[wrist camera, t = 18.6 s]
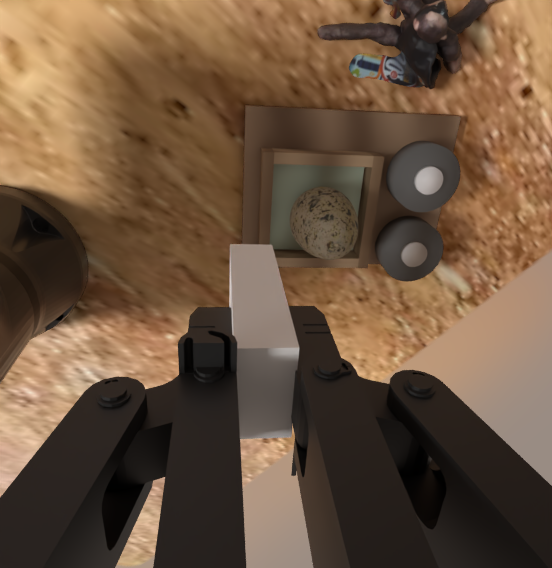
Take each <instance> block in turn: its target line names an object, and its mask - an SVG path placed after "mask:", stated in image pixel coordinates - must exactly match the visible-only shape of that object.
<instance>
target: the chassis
mask: <svg viewBox="0 0 552 568" xmlns="http://www.w3.org/2000/svg"><path fill="white" fill-rule="evenodd" d="M460 118H461V117H460V116H456V115H440V114H420V113H400V112H380V111H360V110H340V109H320V108H300V107H279V106H259V105H245V133H244V174H243V215H242V244H263V245H272V246H273V250H274V253H275V257H276V261H277V265H278V267H304V268H367V267H368V264H381V265H382V266H383V268H384V269H385V270H386V272H387V273H388V274H389V275H390V276H391V277H393V278H395V279H397V280H400V281H414V280H418V279H420V278H423V277H425V276H426V275H428V274H429V273H430V272H432V271H433V270H434V268H435V267H436V266H437V265H438V263H439V261H440V259H441V257H442V254H443V241H442V238H441V235H440V234H439V232H438V231H437V230H436V229H437V225H438V220H439V215H440V211H441V207H439V208H437V209H435V210H432V211H429V212H415V211H411V210H409V209H407V208H405V207H404V206H403V205H402V204H401V203H399V202H398V201H397V200H396V199H394V197H393V196H392V195H391V194H390V192H389V190H388V187H387V182H386V174H387V169H388V166H389V164H390V162H391V160H392V158H393V157H394V155H395V154H396V153H397V152H398V151H399V150H400V149H401V148H403V147H404V146H406V145H407V144H410V143H412V142H415V141H430V142H433V143H435V144H438V145H440V146H443V147H445V148H447V149H449V150H450V151H451V152H452V153H453V151H454V146H455V142H456V137H457V132H458V128H459V123H460ZM315 187H330V188H333V189H336V190H338V191H340V192H341V193H343V194H344V195H345V196H346V197H347V198H348V199H349V200H350V202H351V203H352V205H353V207H354V209H355V211H356V214H357V218H358V236H357V240H356V242H355V244H354V246H353V248H352V249H351V250H350V252H349V253H347V254H346V255H345V256H343V257H341V258H339V259H334V260H325V259H320V258H318V257H315V256H313V255H311V254H309V253H308V252H306V251H305V250H304V249H303V248H302V247H301V246H300V245H299V244H298V243H297V241H296V240H295V238H294V236H293V234H292V231H291V227H290V213H291V209H292V207H293V204H294V203H295V201H296V200H297V198H298V197H299V196H300V195H301V194H303V193H304V192H305V191H307V190H309V189H312V188H315Z"/></svg>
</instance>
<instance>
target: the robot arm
mask: <svg viewBox="0 0 552 568" xmlns="http://www.w3.org/2000/svg"><path fill="white" fill-rule="evenodd" d="M87 278H88V261H87V256H86V252H85V249H84V246H83V244H82V242H81V240H80V238H79V236H78V234H77V233H76V231H75V229H74V228H73V227H72V225H71V224H70V223H69V222H68V221H67V219H66V218H65V217H64V216H63V215H62V214H61V213H59V212H58V211H57V210H56V209H55V208H53V207H52V206H51V205H49V204H48V203H46V202H45V201H43V200H41V199H39V198H38V197H36V196H34V195H32V194H29V193H27V192H24V191H21V190H18V189H14V188H10V187H5V186H0V383H1V382H2V380H3V379H4V377H5V376H6V375H7V373H8V372H9V370H10V369H11V367H12V366H13V364H14V363H15V361H16V360H17V358H18V357H19V355H20V354H21V352H22V351H23V349H24V348H25V346H26V345H27V343H28V342H29V340H30V339H32V338H34V337H36V336H38V335H40V334H42V333H44V332H45V331H47V330H49V329H51V328H53V327H54V326H56V325H58V324H59V323H60V322H62V321H63V320H64V319H65V318H66V317H67V316H68V315H69V314H70V313H71V312H72V310H73V309H74V307H75V306H76V304H77V302H78V301H79V299H80V297H81V296H82V294H83V292H84V289H85V287H86V283H87ZM178 356H179V375H178V376H177V377H176V378H175V379H173V380H172V381H170V382H168V383H166V384H164V385H160V386H157V387H153V388H149V389H145V387H144V385H143V384H142V383H140V382H139V381H138V380H136V379H132V378H129V377H113V378H109V379H104V380H102V381H100V382H97V383H95V384H93V385H92V386H91V387H90V388H88V389H87V390H86V391H85V392H84V393H83V395H82V396H81V397H80V398H79V400H78V401H77V402H76V403H75V405H74V406H73V407H72V408H71V410H70V411H69V412H68V413H67V415H66V416H65V417H64V418H63V420H62V421H61V422H60V423H59V425H58V426H57V427H56V428H55V430H54V431H53V432H52V433H51V435H50V436H49V437H48V438H47V440H46V441H45V442H44V443H43V445H42V446H41V447H40V448H39V450H38V451H37V452H36V454H35V455H34V456H33V457H32V459H31V460H30V461H29V462H28V464H27V465H26V466H25V467H24V469H23V470H22V471H21V472H20V474H19V475H18V476H17V477H16V479H15V480H14V481H13V482H12V484H11V485H10V486H9V487H8V489H7V490H6V491H5V492H4V494H3V495H2V496H1V497H0V568H115V567H116V564H117V562H118V560H119V558H120V556H121V554H122V551H123V549H124V547H125V545H126V543H127V540H128V538H129V536H130V534H131V532H132V529H133V527H134V525H135V523H136V521H137V519H138V516H139V514H140V512H141V510H142V508H143V505H144V503H145V501H146V499H147V497H148V494H149V492H150V490H151V488H152V483H153V480H156V479H160V478H163V477H165V484H164V492H163V499H162V507H161V514H160V522H159V529H158V537H157V544H156V552H155V560H154V567H153V568H246V553H245V534H244V512H243V491H242V471H241V450H240V439H254V438H283V437H291V434H292V423H293V428H294V433H295V443H294V453H293V463H292V476H295V475H296V470H297V475H298V481H299V486H300V492H301V498H302V504H303V509H304V515H305V521H306V527H307V532H308V538H309V543H310V549H311V555H312V561H313V567H314V568H552V486H551V485H550V484H549V483H548V482H547V481H546V480H545V479H544V478H543V477H542V476H541V475H540V474H538V473H537V472H536V471H535V470H534V469H533V468H532V467H531V466H530V465H529V464H528V463H527V462H526V461H525V460H524V459H523V458H521V456H520V455H518V454H517V453H516V452H515V451H514V450H513V449H512V448H511V447H510V446H509V445H508V444H507V443H506V442H505V441H504V440H503V439H502V438H501V437H499V436H498V435H497V434H496V433H495V432H494V431H493V430H492V429H491V428H490V427H489V426H488V425H487V424H486V423H485V422H484V421H483V420H482V419H481V418H480V417H478V416H477V415H476V414H475V413H474V412H473V411H472V410H471V409H470V408H469V407H468V406H467V405H466V404H465V403H464V402H463V401H462V400H461V399H460V398H458V397H457V396H456V395H455V394H454V393H453V392H452V391H451V390H450V389H449V388H448V387H447V386H446V385H445V384H443V382H441V381H440V380H439V379H437V378H436V377H434V376H432V375H430V374H427V373H425V372H421V371H415V370H403V371H400V372H397V373H395V374H394V375H393V376H392V377H391V379H390V384H386V383H381V382H376V381H371V380H368V379H364V378H362V377H359V376H358V374H357V372H356V370H355V369H354V367H353V366H352V364H351V363H349V362H347V361H346V360H344V359H342V358H341V357H340V354H339V351H338V349H337V346H336V344H335V341H334V339H333V336H332V334H331V331H330V329H329V326H328V324H327V321H326V318H325V316H324V314H323V313H322V312H320V311H319V310H318V309H317V308H316V307H315V306H288V303H287V299H286V295H285V291H284V288H283V284H282V280H281V276H280V272H279V269H278V265H277V261H276V257H275V253H274V250H273V246H272V245H263V244H230V289H229V307H198V308H197V309H196V310H195V311H194V312H193V313H192V314H191V316H190V320H189V328H188V333H186V334H185V335H183V336H182V337H181V338H180V340H179V342H178Z"/></svg>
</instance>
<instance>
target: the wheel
mask: <svg viewBox="0 0 552 568" xmlns="http://www.w3.org/2000/svg"><path fill="white" fill-rule="evenodd" d="M459 179H460V166H459V163H458V160H457V158H456V156H455V155H454V154H453V153H452V152H451V151H450V150H449V149H447V148H445V147H443V146H440V145H438V144H435V143H433V142H430V141H415V142H412V143H410V144H407V145H406V146H404V147H403V148H401V149H400V150H399V151H398V152H397V153H396V154H395V155H394V157H393V158H392V160H391V162H390V164H389V166H388V169H387V174H386V182H387V187H388V190H389V192H390V194H391V195H392V196H393V197H394V199H396V200H397V201H398V202H399V203H401V204H402V205H403V206H404V207H405V208H407V209H409V210H411V211H415V212H429V211H432V210H435V209H437V208H439V207H441V206H442V205H444V204H445V203H446V202H447V201H448V200H449V199H450V198H451V197H452V195H453V194H454V192H455V191H456V189H457V186H458V183H459Z"/></svg>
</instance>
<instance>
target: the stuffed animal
mask: <svg viewBox="0 0 552 568" xmlns="http://www.w3.org/2000/svg"><path fill="white" fill-rule="evenodd" d="M383 1H384V3H385V4H388V5H392V6H393V10H392V11H391V12H390V15H391V16H392V17H393V18H394V19H397V18H398V17H399V16H400V15H401V12H400V10H401V11H402V13H403V15H404V17H405V20H403V21H402V22H401V25H400V27H399V26H397V25H390V24H384V23H382V22H380V23H377V24H374V23H365V24H355V23H341V24H334V25H325V26H321V27H320V28H319V29H318V36H319V37H320V38H321V39H325V40H334V39H348V40H352V39H363V38H368V39H371V40H373V41H376V42H378V43H379V44H382V45H385V46H395V47H396V48H397V49H399V50H400V51H401V53H400V54H399V55H398V56H396V57H388V56H385V55H372V54H358V55H356V56H355V57H354V58H353V59H352V61H351V62H350V66H349V70H350V72H351V73H352V75H353V76H355V77H359V78H372V79H379V80H384V81H387V82H391V83H395V84H399V85H403V86H409V87H422V86H425V87H426V88H427V87H428V88H429V89H433V88H434V86H435V80H436V79H437V77H438V73H439V71H440V70H441V63H440V60H439V59H437V58H436V54H437V53H438V54H439V55H440V57H441V58H442V59H443V64H444V66H445V68H446V69H447V70H448V71H450V72H451V73H452V74H454V73H456V72H457V71H458V70H459V69H460V63H461V58H462V53H461V47H460V44H459V42H458V35H457V34H459V33H461V32H463V30H464V29H465V28H467V27H469V26H470V25H471V24H472V23H473V22H474V21H475V20H476V19H477V18H478V17H479V16H480V15H481V14H482V13H483V12H485V11H486V10H487V8H488V5H489V4H491V3H493V2H495V1H497V0H470V2H469V3H468V4H467V5H466V6H465V7H464V9H463V10H461V11H460V12H459V13H457V14H456V15H454V16H452V17H450V18H449V16H448V10H447V4H446V1H444V0H383Z"/></svg>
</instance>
